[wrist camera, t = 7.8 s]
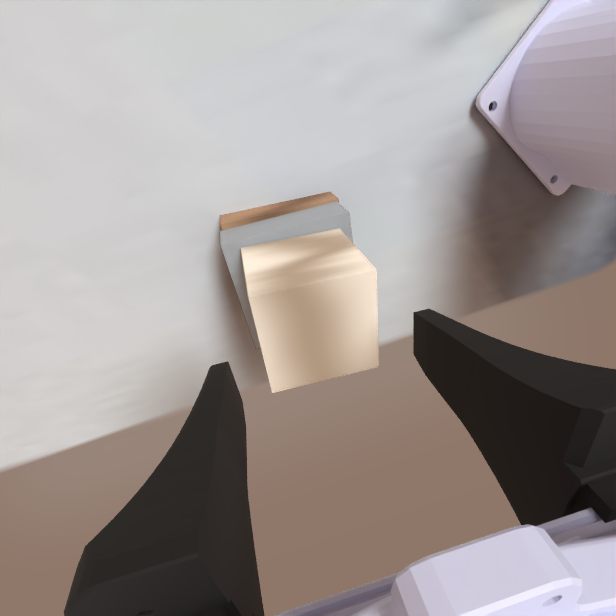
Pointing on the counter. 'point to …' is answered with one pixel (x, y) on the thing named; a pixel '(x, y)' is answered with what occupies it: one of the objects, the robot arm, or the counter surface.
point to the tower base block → (274, 210)
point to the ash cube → (312, 307)
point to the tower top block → (272, 231)
